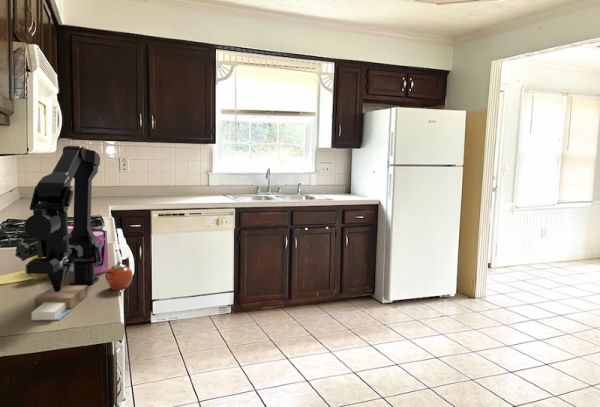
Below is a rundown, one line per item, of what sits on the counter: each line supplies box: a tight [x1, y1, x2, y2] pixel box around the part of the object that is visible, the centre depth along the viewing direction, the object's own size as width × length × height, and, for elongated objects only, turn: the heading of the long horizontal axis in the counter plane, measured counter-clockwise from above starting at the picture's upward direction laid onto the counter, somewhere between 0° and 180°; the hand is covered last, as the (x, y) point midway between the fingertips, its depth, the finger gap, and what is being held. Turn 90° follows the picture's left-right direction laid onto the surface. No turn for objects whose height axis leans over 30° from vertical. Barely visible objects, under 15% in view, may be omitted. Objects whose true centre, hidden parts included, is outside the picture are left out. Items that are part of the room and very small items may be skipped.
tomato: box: [104, 260, 134, 291], centre depth 132 cm, size 7×7×8 cm
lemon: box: [30, 256, 48, 280], centre depth 139 cm, size 6×6×8 cm
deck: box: [34, 284, 89, 311], centre depth 119 cm, size 11×8×3 cm
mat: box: [29, 310, 72, 322], centre depth 110 cm, size 6×6×1 cm
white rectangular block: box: [31, 302, 66, 321], centre depth 110 cm, size 7×5×2 cm
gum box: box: [68, 223, 109, 275], centre depth 152 cm, size 24×8×14 cm, turn 56°
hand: (57, 291), depth 116 cm, fingers closed
